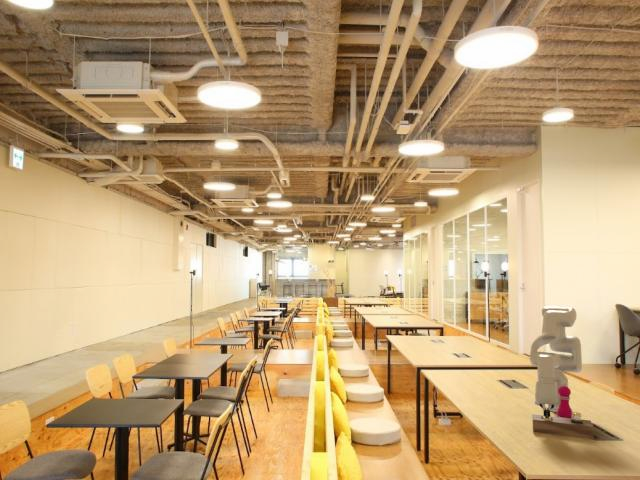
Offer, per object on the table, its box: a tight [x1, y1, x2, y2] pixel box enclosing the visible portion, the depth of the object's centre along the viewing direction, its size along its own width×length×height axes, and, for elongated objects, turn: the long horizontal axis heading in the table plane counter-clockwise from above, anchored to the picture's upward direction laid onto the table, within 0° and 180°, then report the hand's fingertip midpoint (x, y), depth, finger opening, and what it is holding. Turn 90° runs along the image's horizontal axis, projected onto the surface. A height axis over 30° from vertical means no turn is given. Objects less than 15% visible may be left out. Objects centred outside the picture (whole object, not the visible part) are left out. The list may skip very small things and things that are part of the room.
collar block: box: [531, 413, 595, 441], centre depth 233 cm, size 10×26×6 cm, turn 68°
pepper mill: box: [556, 383, 573, 418], centre depth 250 cm, size 7×7×20 cm
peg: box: [572, 411, 582, 424], centre depth 231 cm, size 4×4×4 cm
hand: (547, 417), depth 235 cm, fingers closed
